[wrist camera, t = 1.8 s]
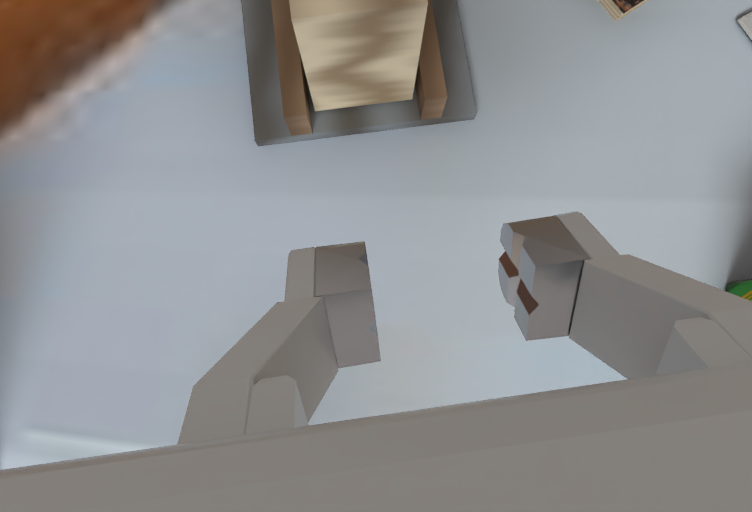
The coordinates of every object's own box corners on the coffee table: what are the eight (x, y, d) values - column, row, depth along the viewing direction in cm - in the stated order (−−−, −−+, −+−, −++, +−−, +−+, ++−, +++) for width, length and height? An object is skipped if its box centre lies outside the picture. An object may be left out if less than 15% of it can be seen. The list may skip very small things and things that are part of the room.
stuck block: (315, 111, 34) (291, 18, 24) (304, 23, 35) (277, -100, 25) (412, 99, 34) (428, 2, 24) (398, 12, 35) (408, -114, 25)
